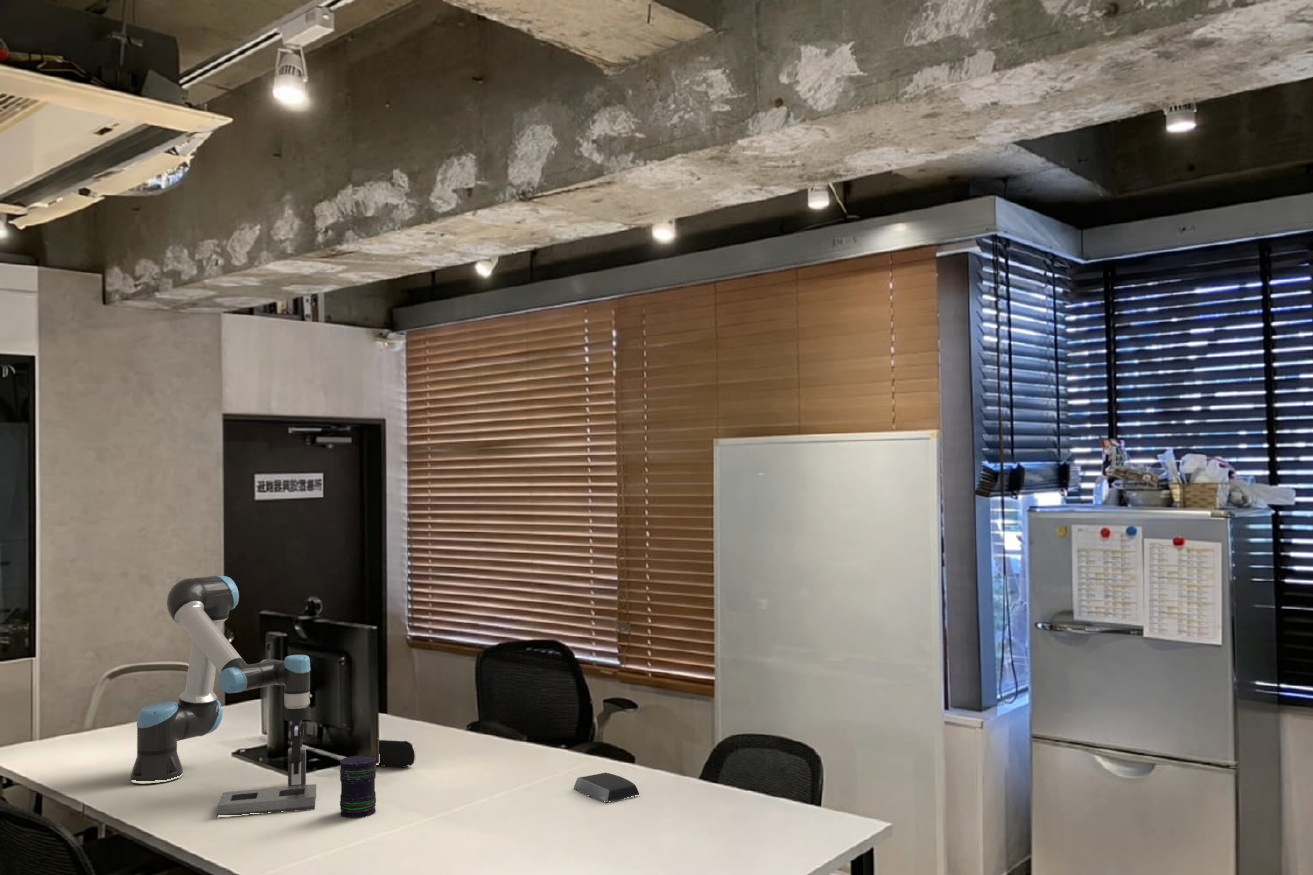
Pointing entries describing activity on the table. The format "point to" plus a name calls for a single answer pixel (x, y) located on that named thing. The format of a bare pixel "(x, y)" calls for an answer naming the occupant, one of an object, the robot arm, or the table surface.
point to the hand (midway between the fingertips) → (297, 780)
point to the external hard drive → (606, 787)
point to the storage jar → (357, 786)
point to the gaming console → (396, 752)
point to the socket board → (267, 800)
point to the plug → (303, 767)
